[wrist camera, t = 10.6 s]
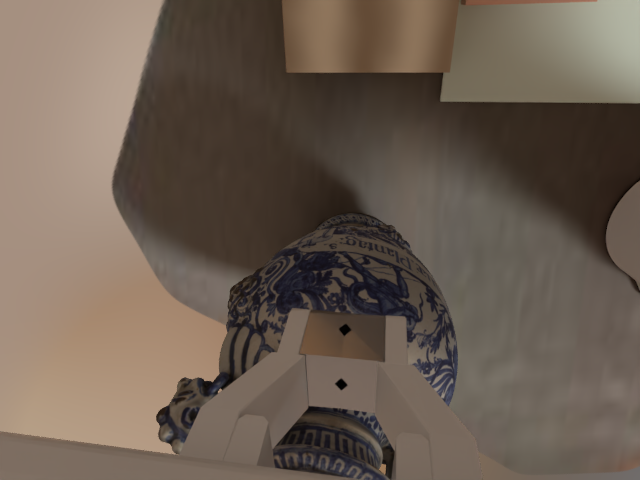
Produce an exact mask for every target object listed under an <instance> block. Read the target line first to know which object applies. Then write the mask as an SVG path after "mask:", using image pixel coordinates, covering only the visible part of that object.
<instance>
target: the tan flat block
mask: <svg viewBox="0 0 640 480" xmlns="http://www.w3.org/2000/svg"><path fill="white" fill-rule="evenodd" d="M458 6H459V0H282V12H283V27H284V43H285V59H286V73H450V68H451V60H452V52H453V45H454V37H455V29H456V22H457V14H458Z"/></svg>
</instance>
